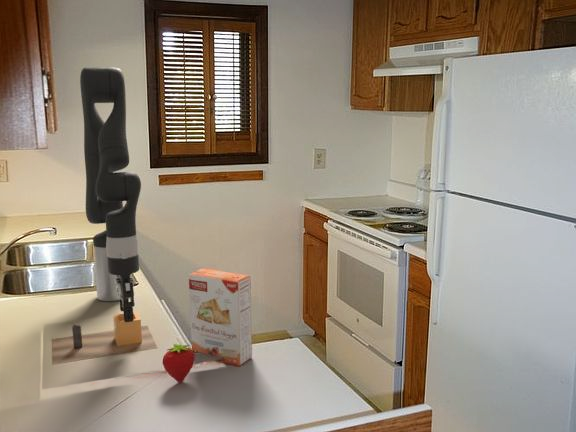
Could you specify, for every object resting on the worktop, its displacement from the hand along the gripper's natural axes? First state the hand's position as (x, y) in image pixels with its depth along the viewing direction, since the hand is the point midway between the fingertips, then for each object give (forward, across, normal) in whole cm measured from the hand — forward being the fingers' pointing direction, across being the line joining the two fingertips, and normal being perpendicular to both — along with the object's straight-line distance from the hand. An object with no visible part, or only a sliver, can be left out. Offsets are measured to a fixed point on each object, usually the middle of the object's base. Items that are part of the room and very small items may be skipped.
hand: (126, 316), depth 149 cm
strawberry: (+8, +25, +8) cm, 27 cm away
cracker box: (+8, +16, +20) cm, 27 cm away
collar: (+6, 0, 0) cm, 6 cm away
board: (+8, 0, -6) cm, 10 cm away
